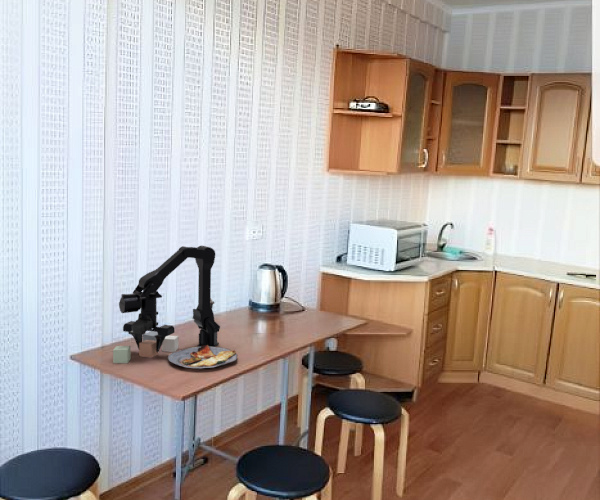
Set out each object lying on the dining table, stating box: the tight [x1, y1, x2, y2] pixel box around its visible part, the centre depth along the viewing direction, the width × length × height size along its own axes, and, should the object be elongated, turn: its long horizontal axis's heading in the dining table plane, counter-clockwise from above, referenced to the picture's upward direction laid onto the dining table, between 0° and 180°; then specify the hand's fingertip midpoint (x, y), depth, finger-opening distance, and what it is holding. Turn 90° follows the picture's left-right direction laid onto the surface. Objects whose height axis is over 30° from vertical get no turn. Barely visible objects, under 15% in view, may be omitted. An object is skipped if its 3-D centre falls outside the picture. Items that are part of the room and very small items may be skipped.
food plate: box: [167, 345, 238, 370], centre depth 227 cm, size 25×23×4 cm
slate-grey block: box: [142, 331, 158, 342], centre depth 244 cm, size 5×5×5 cm
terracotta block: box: [138, 340, 159, 358], centre depth 232 cm, size 5×5×5 cm
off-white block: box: [161, 335, 179, 353], centre depth 239 cm, size 5×5×5 cm
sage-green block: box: [112, 345, 131, 364], centre depth 224 cm, size 5×5×5 cm
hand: (148, 350), depth 232 cm, fingers open, 7 cm apart
